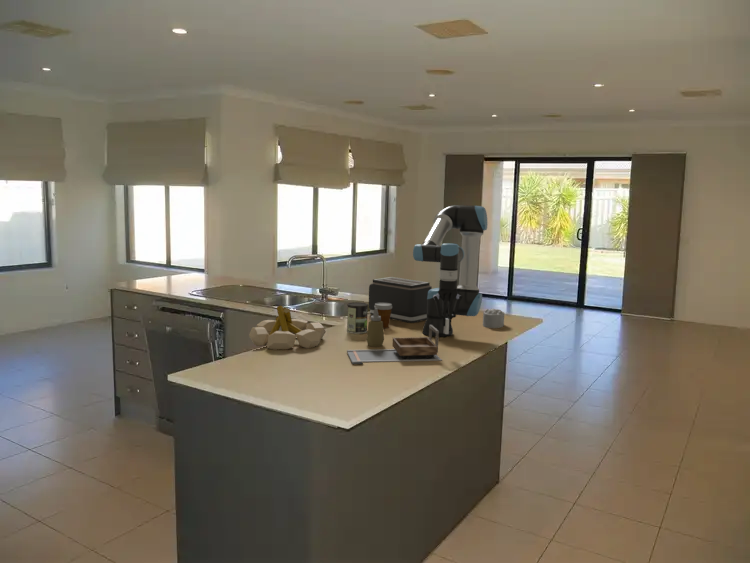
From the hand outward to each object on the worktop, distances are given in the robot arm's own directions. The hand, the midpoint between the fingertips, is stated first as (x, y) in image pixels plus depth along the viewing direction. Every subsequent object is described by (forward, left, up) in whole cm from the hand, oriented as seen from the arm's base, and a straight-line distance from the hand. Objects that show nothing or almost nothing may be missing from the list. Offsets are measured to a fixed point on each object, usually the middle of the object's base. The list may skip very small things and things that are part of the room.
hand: (446, 333), depth 271 cm
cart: (+14, 0, -9) cm, 17 cm away
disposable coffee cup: (+17, -59, -11) cm, 62 cm away
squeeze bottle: (+28, -18, -11) cm, 35 cm away
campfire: (+67, -32, -11) cm, 75 cm away
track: (+23, 0, -10) cm, 25 cm away
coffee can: (+32, -49, -11) cm, 59 cm away
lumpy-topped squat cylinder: (-43, -58, -11) cm, 73 cm away
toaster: (+3, -85, -11) cm, 86 cm away
